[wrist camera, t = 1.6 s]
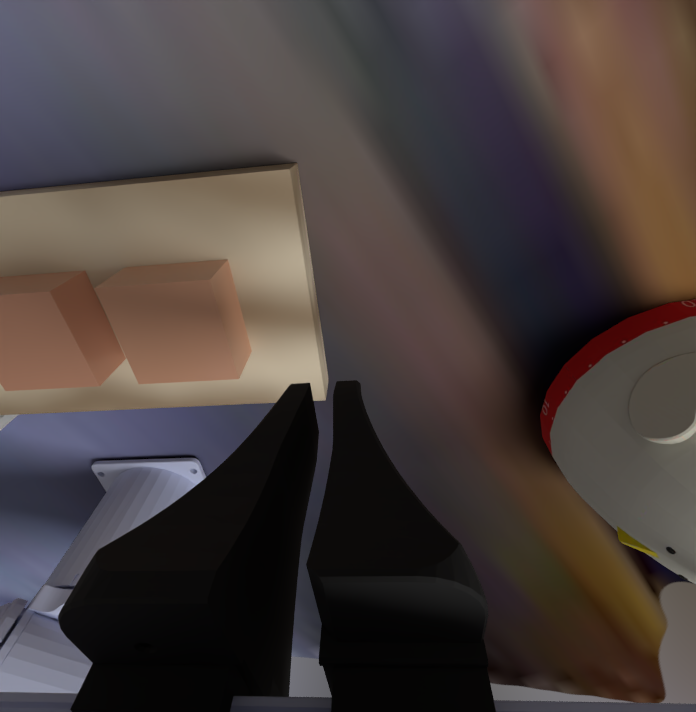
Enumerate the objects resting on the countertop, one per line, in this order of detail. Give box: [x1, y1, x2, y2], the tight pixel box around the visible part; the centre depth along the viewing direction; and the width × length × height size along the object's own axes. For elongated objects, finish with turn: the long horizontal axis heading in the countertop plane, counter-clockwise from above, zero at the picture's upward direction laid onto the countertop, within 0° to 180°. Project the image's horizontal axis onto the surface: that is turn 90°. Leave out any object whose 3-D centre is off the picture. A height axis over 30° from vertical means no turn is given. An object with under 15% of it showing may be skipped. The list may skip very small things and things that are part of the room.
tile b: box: [0, 270, 126, 391], centre depth 19 cm, size 5×5×2 cm
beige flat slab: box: [0, 163, 329, 415], centre depth 21 cm, size 12×20×2 cm, turn 95°
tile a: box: [94, 259, 252, 384], centre depth 19 cm, size 5×5×2 cm
